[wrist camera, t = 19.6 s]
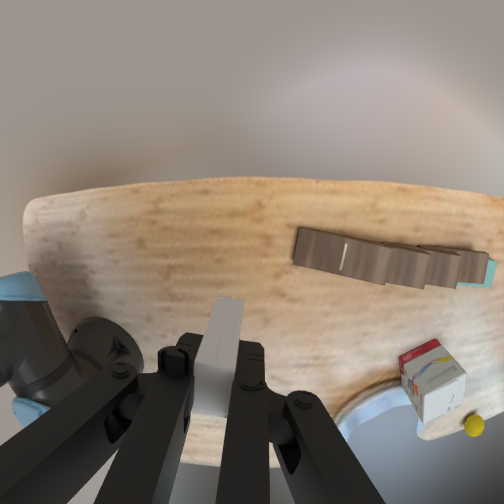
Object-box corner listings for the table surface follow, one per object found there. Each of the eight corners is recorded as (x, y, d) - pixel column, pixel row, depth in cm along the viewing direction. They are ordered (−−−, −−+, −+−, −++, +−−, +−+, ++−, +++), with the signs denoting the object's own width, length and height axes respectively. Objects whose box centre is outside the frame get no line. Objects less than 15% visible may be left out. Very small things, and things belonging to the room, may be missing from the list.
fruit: (472, 406, 48) (486, 425, 40) (478, 412, 48) (491, 429, 41) (457, 421, 49) (469, 440, 41) (463, 426, 50) (475, 444, 42)
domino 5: (443, 283, 39) (490, 287, 39) (450, 253, 38) (497, 261, 37) (437, 279, 41) (485, 284, 40) (444, 250, 40) (491, 259, 39)
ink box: (397, 356, 44) (424, 396, 33) (436, 337, 43) (468, 371, 32) (400, 387, 46) (423, 427, 34) (437, 369, 45) (464, 404, 33)
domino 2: (338, 273, 39) (423, 289, 35) (344, 238, 38) (431, 255, 34) (339, 270, 41) (420, 285, 37) (344, 236, 40) (428, 252, 36)
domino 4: (416, 279, 39) (483, 284, 35) (421, 247, 38) (489, 254, 34) (414, 275, 41) (479, 281, 37) (418, 244, 40) (484, 251, 36)
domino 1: (292, 264, 39) (384, 285, 35) (299, 228, 38) (394, 249, 34) (295, 261, 41) (383, 281, 37) (301, 226, 40) (392, 247, 36)
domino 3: (379, 277, 39) (455, 288, 35) (385, 243, 38) (462, 256, 34) (378, 273, 41) (452, 285, 37) (383, 241, 40) (458, 254, 36)
